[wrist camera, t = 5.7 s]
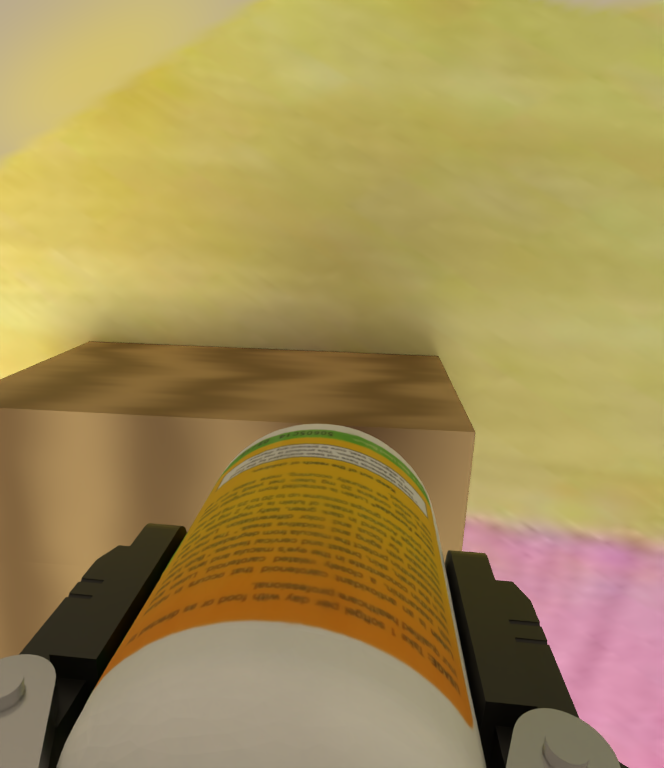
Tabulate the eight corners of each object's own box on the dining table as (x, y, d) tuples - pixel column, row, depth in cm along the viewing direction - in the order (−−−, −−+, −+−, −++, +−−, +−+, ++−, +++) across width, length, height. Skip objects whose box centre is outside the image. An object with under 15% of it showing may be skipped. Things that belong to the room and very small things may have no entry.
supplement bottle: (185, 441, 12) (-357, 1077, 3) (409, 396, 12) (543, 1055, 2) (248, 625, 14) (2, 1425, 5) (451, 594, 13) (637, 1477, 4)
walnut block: (438, 356, 29) (475, 432, 19) (412, 646, 35) (429, 827, 25) (89, 341, 30) (-60, 404, 20) (122, 623, 36) (20, 787, 26)
